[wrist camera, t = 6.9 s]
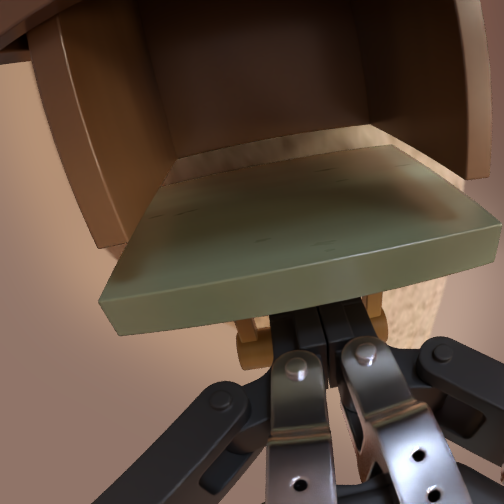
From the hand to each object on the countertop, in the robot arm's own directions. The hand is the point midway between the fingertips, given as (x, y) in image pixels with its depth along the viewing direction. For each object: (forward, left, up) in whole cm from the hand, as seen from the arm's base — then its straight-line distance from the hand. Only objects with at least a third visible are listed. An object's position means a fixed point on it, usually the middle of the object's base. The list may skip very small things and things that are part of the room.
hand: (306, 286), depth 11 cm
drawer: (-5, +4, -4) cm, 7 cm away
